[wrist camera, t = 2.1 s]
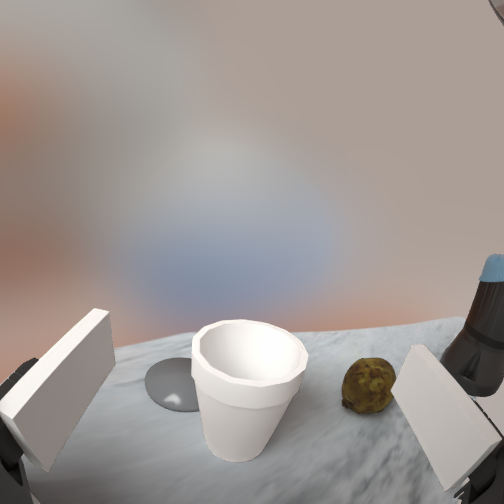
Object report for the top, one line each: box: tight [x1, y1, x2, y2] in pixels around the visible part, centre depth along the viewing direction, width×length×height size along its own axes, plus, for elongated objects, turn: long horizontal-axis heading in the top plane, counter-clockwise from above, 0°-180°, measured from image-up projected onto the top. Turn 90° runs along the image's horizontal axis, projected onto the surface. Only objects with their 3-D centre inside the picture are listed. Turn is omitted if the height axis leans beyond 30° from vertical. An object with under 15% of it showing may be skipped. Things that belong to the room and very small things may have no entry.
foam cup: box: [191, 319, 308, 463], centre depth 23 cm, size 10×9×13 cm
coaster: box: [145, 358, 199, 412], centre depth 32 cm, size 10×10×1 cm
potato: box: [342, 358, 396, 414], centre depth 31 cm, size 8×13×8 cm, turn 120°
